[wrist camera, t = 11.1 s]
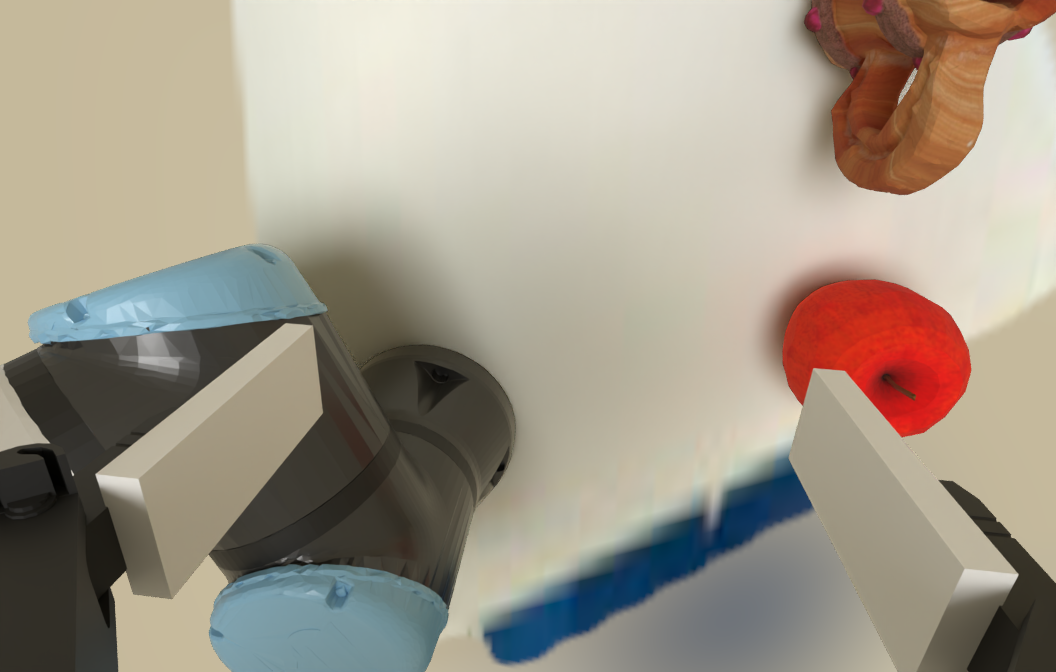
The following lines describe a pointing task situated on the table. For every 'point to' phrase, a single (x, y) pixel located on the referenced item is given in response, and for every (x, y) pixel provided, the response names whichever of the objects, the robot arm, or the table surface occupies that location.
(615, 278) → the table surface
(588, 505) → the table surface
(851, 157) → the mug
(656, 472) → the table surface
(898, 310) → the apple
